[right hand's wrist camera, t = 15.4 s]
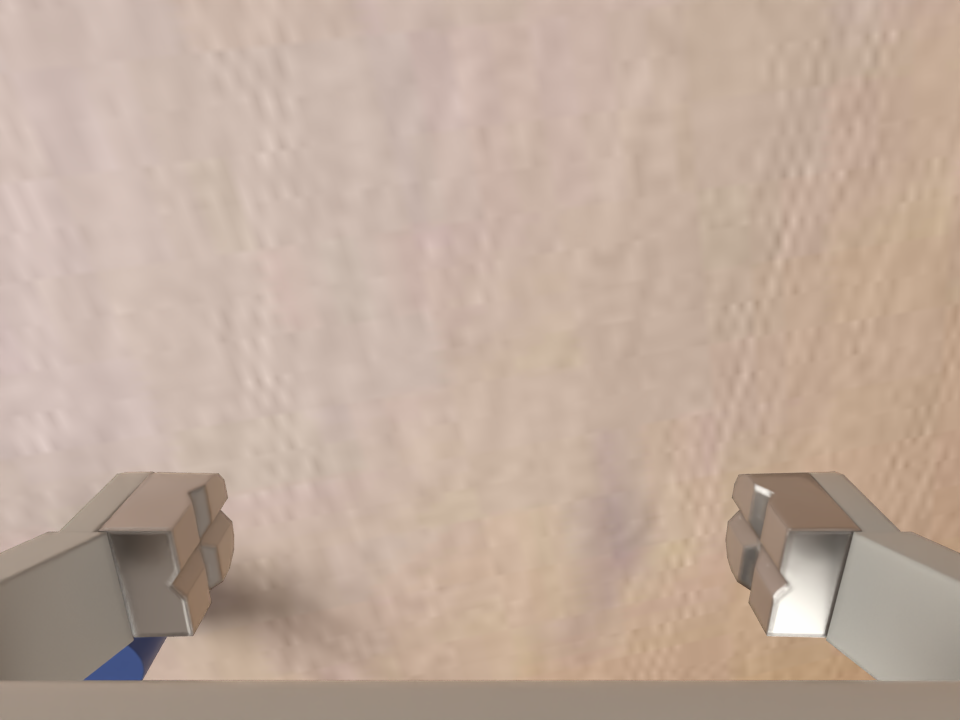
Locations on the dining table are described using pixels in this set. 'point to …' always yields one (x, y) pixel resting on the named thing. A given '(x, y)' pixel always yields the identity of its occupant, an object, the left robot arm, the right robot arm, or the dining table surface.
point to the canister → (130, 660)
